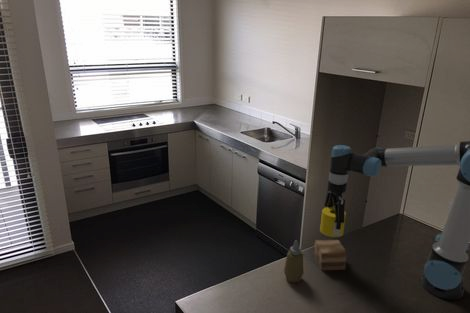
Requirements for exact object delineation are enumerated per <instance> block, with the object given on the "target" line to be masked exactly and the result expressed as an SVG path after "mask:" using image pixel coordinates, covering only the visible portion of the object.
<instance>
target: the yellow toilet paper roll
mask: <svg viewBox="0 0 470 313" xmlns="http://www.w3.org/2000/svg"><path fill="white" fill-rule="evenodd" d="M346 215H347V213H346V211H345V210H344V223H341V230H340V235H336V236H334V235H333V231H334V223H335V222H334V221H336V217H335V206H333V207H326V206H325V207H324V208H322V210H321V220H320V227H319V232H320V233H321V234H322V235H325V236H326V237H330V238H340V237H342V236H343V235H344V231H345V224H346V217H347V216H346Z"/></svg>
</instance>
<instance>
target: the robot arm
mask: <svg viewBox="0 0 470 313" xmlns="http://www.w3.org/2000/svg"><path fill="white" fill-rule="evenodd" d="M419 166H420V167H422V166H424V167H425V166H427V167H428V166H432V167H433V166H458V167H459V170H458V171H457V175H456V178H455V179H456V181H457V182H458V187H457V190H456V193H455V195H454V199H453V201H452V203H451V204H452V205H451V207H450V209H449V212H448V215H447V218H446V221H445V224H444V225H443V226H444V227H443V230H442V232H441V233H439V234H436V235H435V239H434V243H432V246H431V249H430V251H429V255H428V257H427V259H426V263H425V264H424V266H423V275H422V277H421V285H422V287H423V288H424V290H426V291H427V292H428V293H430V294H431V295H434V296H436V297H438V298H440V299H445V300H449V301H450V300H451V301H456V300H460V299H461V298H463V295H464V292H465V286H464V280H463V274H464V272H465V268H466V266H467V263H468V262H469V255H468V254H469V251H470V140H468V141H459V142H458V143H456V144H447V145H445V144H444V145H429V146H426V145H425V146H411V147H410V146H409V147H391V148H389V147H388V148H381V147H378V146H377V147H373V148H371V149H369V150H368V151H367V152H364V154H358V153H354V152H352V148H351V146H348V145H344V144H343V145H342V144H338V145H337V144H336V145H334V146H333V147H332V150H331V155H330V166H329V174H328V181H327V182H328V183H327V193H326V197H325V200H324V204H323V206H324V207H325V208H326V207H335V217H336V221H334V222H335V223H334V231H333V235H334V236H336V235H340V230H341V223H344V211H345V204H346V199H343V194H344V193H345V192H346V190H347V186H348V183H347V182H348V178H349V176H350V175H349V172H352V173H356V174H359V175H364V176H366V177H372V178H376V177H378V176H379V174H380V172H381V169H382V168H383V167H385V168H386V167H419Z"/></svg>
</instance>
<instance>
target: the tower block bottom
mask: <svg viewBox="0 0 470 313" xmlns="http://www.w3.org/2000/svg"><path fill="white" fill-rule="evenodd" d="M313 251H314V252H313V258H314V260H315V262H316V264H317V266H318V267H319V269H320V271H340V270H341V271H343V270H344V271H345V270H346V268H347V261H346V262H321V261H320V259H319V257H318V255H317V253H316V251H315V249H314V248H313Z"/></svg>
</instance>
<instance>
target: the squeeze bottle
mask: <svg viewBox="0 0 470 313" xmlns="http://www.w3.org/2000/svg"><path fill="white" fill-rule="evenodd" d="M283 269H284V271H283V272H284V275H285V278H286V280H287V281H288V282H289V283H293V284H295V283H299V282H300V281H301V279H302V278H303V276H304V254H303V252H302V248H301V247H300V245H299V240H294V242H293V245H292V246H290V248H289V251H288V252H287V254H286V260H285V266H284V268H283Z"/></svg>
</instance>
